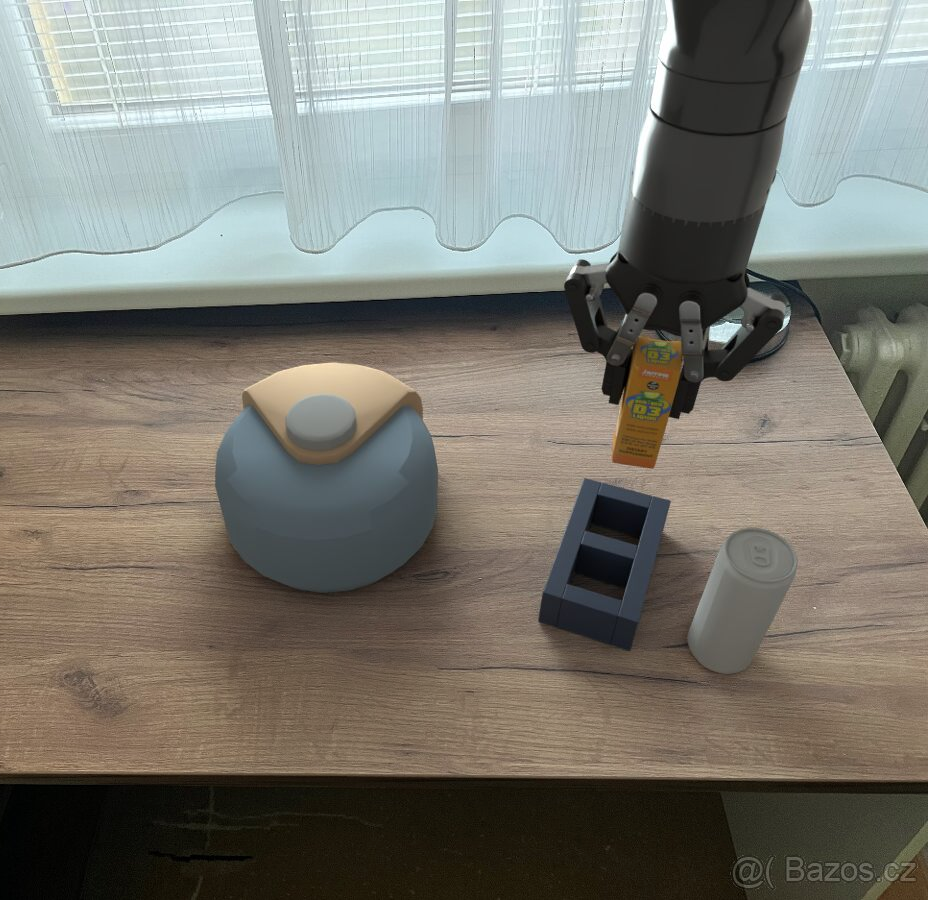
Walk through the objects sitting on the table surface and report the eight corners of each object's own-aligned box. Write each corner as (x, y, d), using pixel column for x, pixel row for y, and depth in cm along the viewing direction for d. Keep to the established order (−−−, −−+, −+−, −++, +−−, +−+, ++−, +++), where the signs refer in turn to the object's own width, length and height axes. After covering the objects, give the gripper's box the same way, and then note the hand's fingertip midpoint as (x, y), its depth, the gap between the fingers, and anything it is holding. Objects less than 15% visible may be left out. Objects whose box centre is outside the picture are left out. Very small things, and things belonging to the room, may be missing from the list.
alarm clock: (438, 435, 86) (439, 338, 77) (435, 606, 72) (436, 511, 63) (247, 433, 88) (227, 338, 80) (208, 598, 74) (180, 505, 66)
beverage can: (751, 629, 68) (797, 532, 59) (753, 684, 65) (803, 589, 56) (685, 617, 69) (721, 520, 61) (685, 670, 66) (722, 575, 57)
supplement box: (609, 466, 65) (629, 362, 58) (613, 434, 68) (634, 331, 61) (655, 473, 64) (682, 369, 57) (658, 441, 67) (685, 337, 60)
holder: (662, 530, 75) (671, 500, 73) (629, 651, 68) (638, 622, 65) (578, 507, 78) (584, 477, 75) (537, 621, 70) (542, 592, 67)
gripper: (559, 196, 51) (533, 414, 63) (829, 237, 46) (744, 465, 58) (590, 138, 55) (561, 351, 67) (839, 169, 50) (758, 394, 62)
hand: (646, 403), depth 62 cm, fingers closed on supplement box, 3 cm apart
